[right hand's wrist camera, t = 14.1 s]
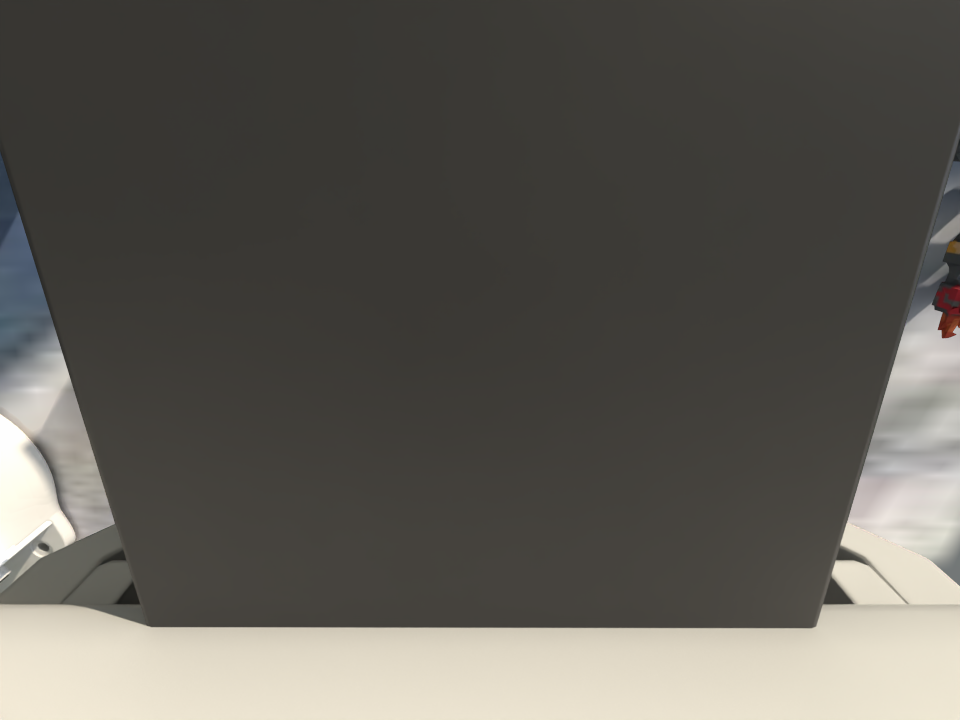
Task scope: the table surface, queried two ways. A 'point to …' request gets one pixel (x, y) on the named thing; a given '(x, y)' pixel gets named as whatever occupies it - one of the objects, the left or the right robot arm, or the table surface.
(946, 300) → the toy
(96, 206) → the box
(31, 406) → the table surface
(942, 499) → the table surface
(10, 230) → the table surface
